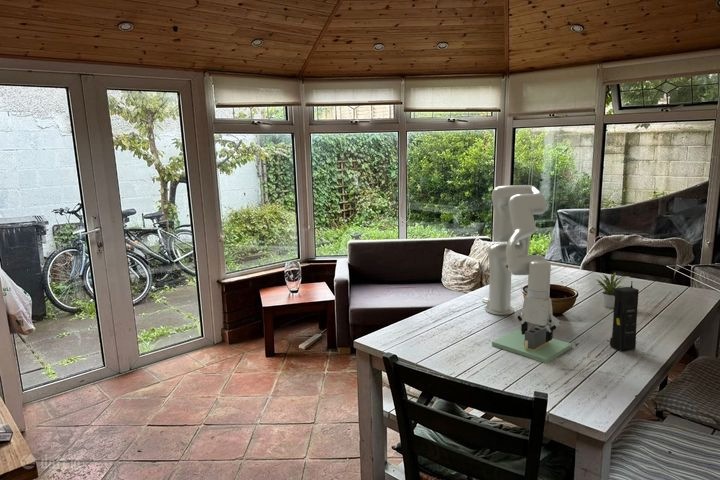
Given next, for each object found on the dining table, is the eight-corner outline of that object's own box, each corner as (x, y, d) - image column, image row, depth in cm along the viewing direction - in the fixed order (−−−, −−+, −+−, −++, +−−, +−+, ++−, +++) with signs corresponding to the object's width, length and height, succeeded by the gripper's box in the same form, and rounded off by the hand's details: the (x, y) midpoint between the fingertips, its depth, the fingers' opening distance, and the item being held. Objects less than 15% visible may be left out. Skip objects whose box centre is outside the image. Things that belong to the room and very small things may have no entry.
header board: (491, 345, 183) (492, 332, 182) (518, 332, 195) (518, 320, 194) (546, 363, 167) (547, 349, 166) (571, 347, 179) (572, 334, 178)
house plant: (620, 301, 230) (623, 268, 227) (634, 310, 216) (637, 275, 213) (590, 301, 231) (592, 268, 228) (601, 310, 218) (603, 275, 215)
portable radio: (619, 352, 173) (624, 286, 169) (606, 346, 179) (611, 281, 174) (637, 349, 175) (642, 284, 171) (624, 343, 181) (629, 279, 177)
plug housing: (524, 346, 177) (524, 331, 176) (539, 338, 184) (539, 324, 183) (533, 349, 174) (534, 334, 173) (548, 341, 181) (548, 326, 180)
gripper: (511, 290, 180) (510, 333, 183) (556, 301, 167) (553, 346, 170) (522, 286, 184) (520, 328, 188) (566, 296, 172) (563, 340, 175)
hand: (536, 337), depth 179 cm, fingers open, 9 cm apart
